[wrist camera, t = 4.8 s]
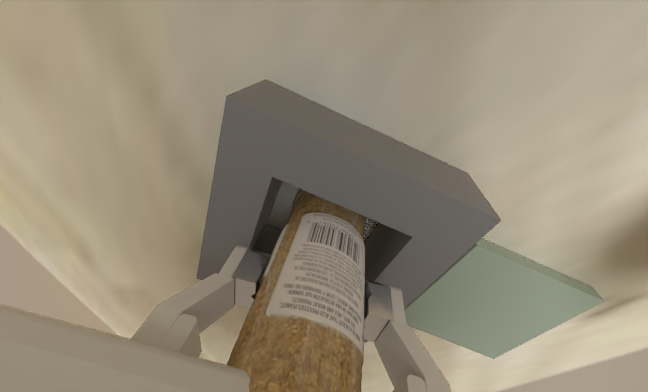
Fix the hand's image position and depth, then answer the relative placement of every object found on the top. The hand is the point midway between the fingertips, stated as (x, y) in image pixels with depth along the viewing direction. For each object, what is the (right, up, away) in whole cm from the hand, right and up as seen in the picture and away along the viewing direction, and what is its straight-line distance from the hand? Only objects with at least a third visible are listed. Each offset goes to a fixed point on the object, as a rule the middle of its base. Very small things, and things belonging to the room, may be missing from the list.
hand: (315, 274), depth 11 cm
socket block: (+1, +3, +5) cm, 5 cm away
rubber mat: (+12, -4, +7) cm, 14 cm away
